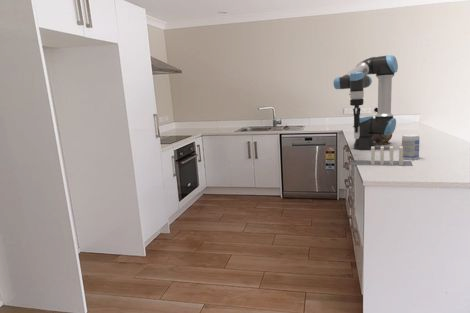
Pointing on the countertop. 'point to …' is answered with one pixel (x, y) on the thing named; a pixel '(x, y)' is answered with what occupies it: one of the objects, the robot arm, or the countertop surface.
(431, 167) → the countertop surface
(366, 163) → the mat
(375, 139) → the ceramic jug
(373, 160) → the domino
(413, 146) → the supplement tub
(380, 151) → the domino
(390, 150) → the domino
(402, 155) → the domino
